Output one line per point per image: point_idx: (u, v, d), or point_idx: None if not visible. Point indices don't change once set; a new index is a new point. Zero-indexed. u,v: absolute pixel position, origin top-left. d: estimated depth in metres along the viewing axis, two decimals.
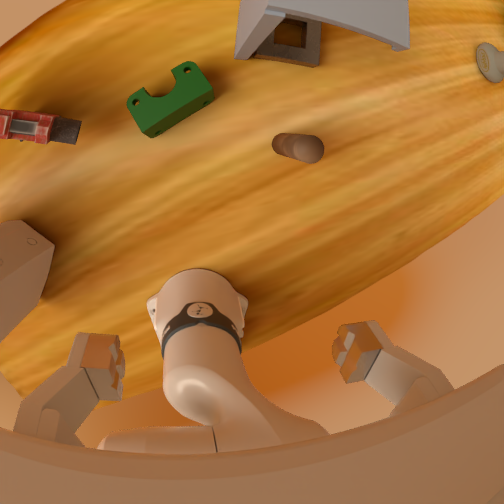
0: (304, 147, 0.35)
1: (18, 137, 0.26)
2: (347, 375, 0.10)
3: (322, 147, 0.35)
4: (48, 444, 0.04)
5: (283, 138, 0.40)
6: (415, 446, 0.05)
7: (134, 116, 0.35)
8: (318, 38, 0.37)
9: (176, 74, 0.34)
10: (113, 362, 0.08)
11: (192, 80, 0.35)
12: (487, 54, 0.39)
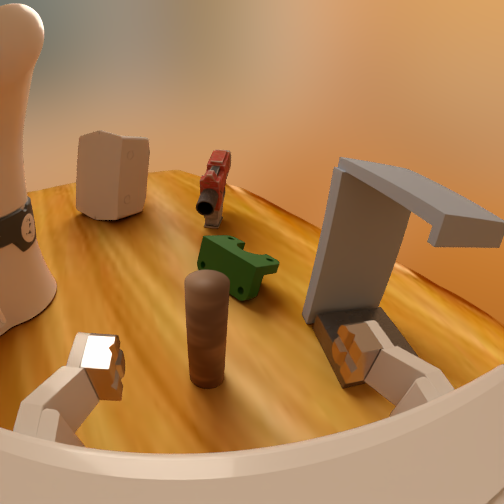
0: (208, 275, 0.24)
1: (206, 172, 0.57)
2: (347, 375, 0.10)
3: (214, 293, 0.22)
4: (48, 444, 0.04)
5: None
6: (415, 446, 0.05)
7: (217, 236, 0.47)
8: None
9: (262, 255, 0.44)
10: (113, 362, 0.08)
11: (260, 260, 0.41)
12: None
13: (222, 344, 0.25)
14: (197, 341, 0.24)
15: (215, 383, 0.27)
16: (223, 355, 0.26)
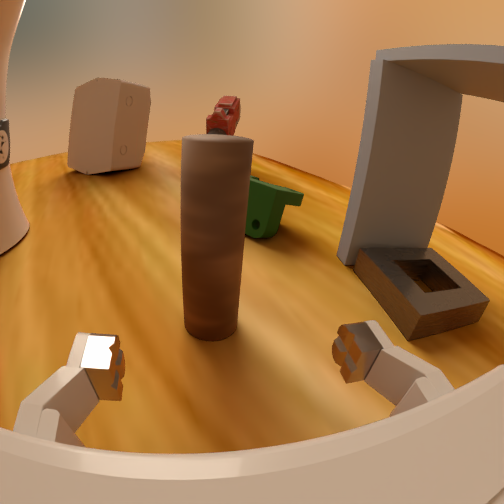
0: (219, 136, 0.15)
1: None
2: (347, 375, 0.10)
3: (230, 142, 0.13)
4: (48, 444, 0.04)
5: None
6: (415, 446, 0.05)
7: None
8: (458, 304, 0.19)
9: None
10: (113, 362, 0.08)
11: (280, 188, 0.32)
12: None
13: (237, 252, 0.16)
14: (198, 242, 0.15)
15: (223, 331, 0.18)
16: (238, 278, 0.17)
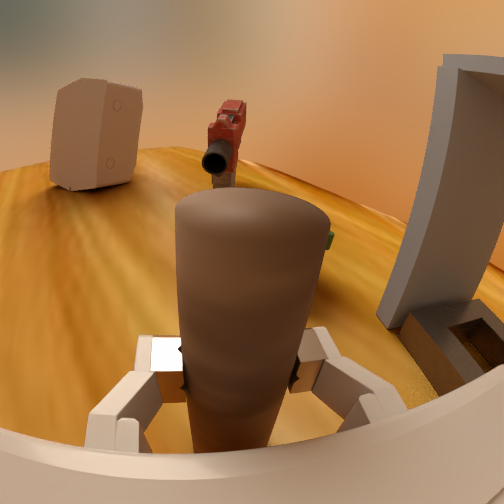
0: (252, 197, 0.08)
1: None
2: (291, 385, 0.09)
3: (291, 238, 0.06)
4: (48, 444, 0.04)
5: None
6: (415, 446, 0.05)
7: None
8: None
9: None
10: (182, 363, 0.08)
11: None
12: None
13: (280, 399, 0.09)
14: (216, 400, 0.08)
15: None
16: (276, 417, 0.10)
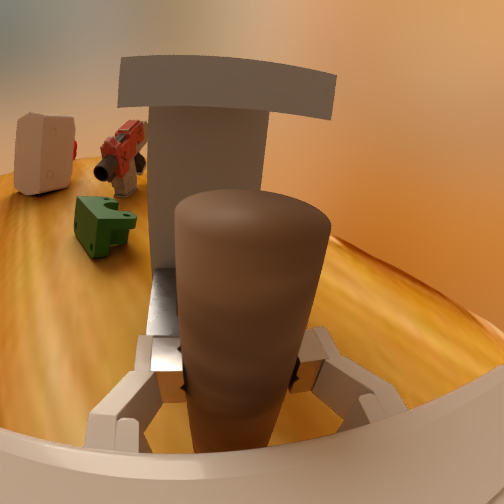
0: (253, 199, 0.08)
1: None
2: (291, 385, 0.09)
3: (291, 241, 0.06)
4: (48, 444, 0.04)
5: None
6: (415, 446, 0.05)
7: None
8: None
9: (123, 211, 0.37)
10: (182, 363, 0.08)
11: (112, 214, 0.34)
12: None
13: (281, 401, 0.09)
14: (216, 402, 0.08)
15: None
16: (276, 419, 0.10)
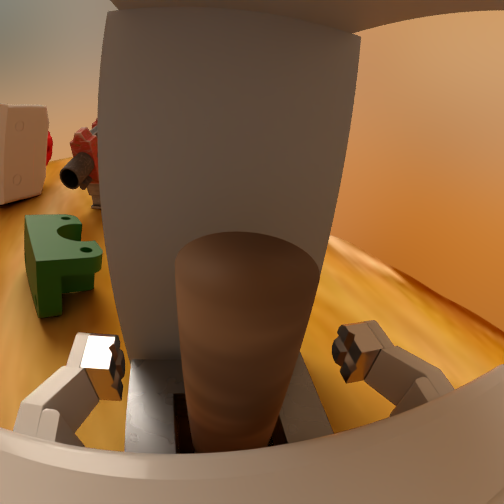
0: (247, 245, 0.08)
1: None
2: (347, 375, 0.10)
3: (281, 299, 0.06)
4: (48, 444, 0.04)
5: None
6: (415, 446, 0.05)
7: (48, 215, 0.25)
8: None
9: (83, 242, 0.22)
10: (113, 362, 0.08)
11: (64, 249, 0.20)
12: None
13: (274, 420, 0.09)
14: (215, 424, 0.08)
15: None
16: (271, 434, 0.10)
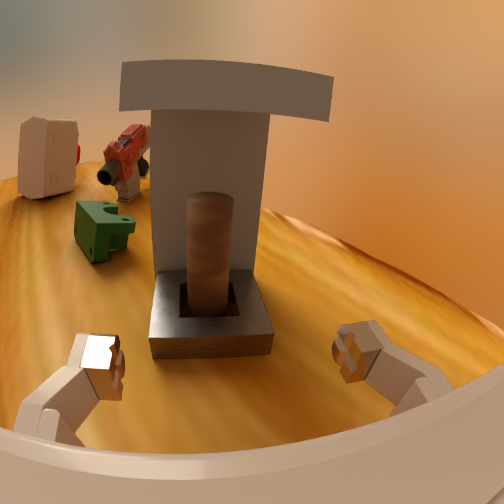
0: (211, 194, 0.23)
1: None
2: (347, 375, 0.10)
3: (217, 204, 0.21)
4: (48, 444, 0.04)
5: None
6: (415, 446, 0.05)
7: (93, 201, 0.40)
8: (210, 333, 0.23)
9: (122, 216, 0.37)
10: (113, 362, 0.08)
11: (112, 219, 0.35)
12: None
13: (224, 272, 0.24)
14: (198, 267, 0.23)
15: None
16: (225, 289, 0.25)
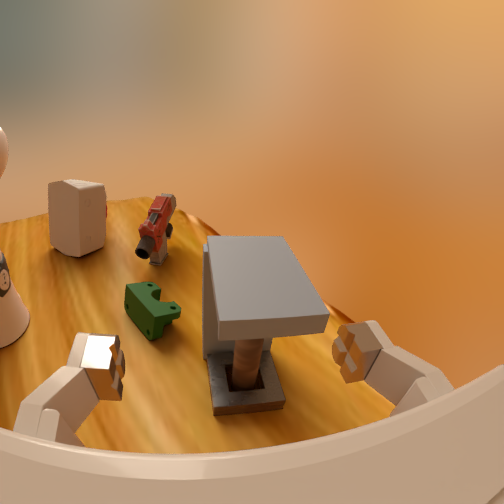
0: None
1: (147, 219, 0.65)
2: (347, 375, 0.10)
3: (256, 340, 0.35)
4: (48, 444, 0.04)
5: None
6: (415, 446, 0.05)
7: (139, 283, 0.54)
8: (249, 402, 0.37)
9: (169, 302, 0.51)
10: (113, 362, 0.08)
11: (163, 308, 0.48)
12: None
13: (257, 368, 0.38)
14: (242, 367, 0.37)
15: None
16: (256, 374, 0.39)
